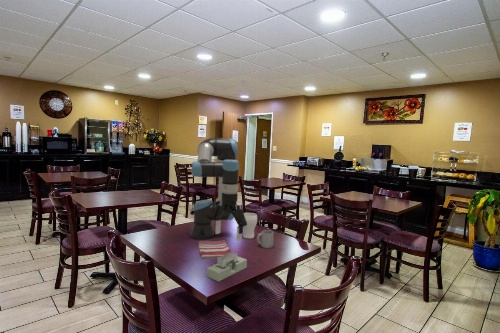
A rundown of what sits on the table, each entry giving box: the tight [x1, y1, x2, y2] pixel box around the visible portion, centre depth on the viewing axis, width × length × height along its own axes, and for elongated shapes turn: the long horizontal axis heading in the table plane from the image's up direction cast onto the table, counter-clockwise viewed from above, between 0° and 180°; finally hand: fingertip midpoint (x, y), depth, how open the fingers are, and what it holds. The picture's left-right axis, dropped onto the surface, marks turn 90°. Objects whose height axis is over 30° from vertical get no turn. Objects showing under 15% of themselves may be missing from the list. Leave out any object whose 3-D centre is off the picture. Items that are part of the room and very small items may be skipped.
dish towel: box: [197, 239, 232, 260], centre depth 161 cm, size 17×23×3 cm
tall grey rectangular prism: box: [216, 251, 238, 269], centre depth 134 cm, size 10×4×7 cm, turn 142°
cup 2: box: [256, 229, 275, 249], centre depth 171 cm, size 7×10×9 cm
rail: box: [206, 255, 248, 282], centre depth 134 cm, size 20×7×4 cm, turn 142°
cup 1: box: [242, 212, 258, 239], centre depth 187 cm, size 11×11×15 cm
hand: (228, 236), depth 134 cm, fingers open, 13 cm apart
